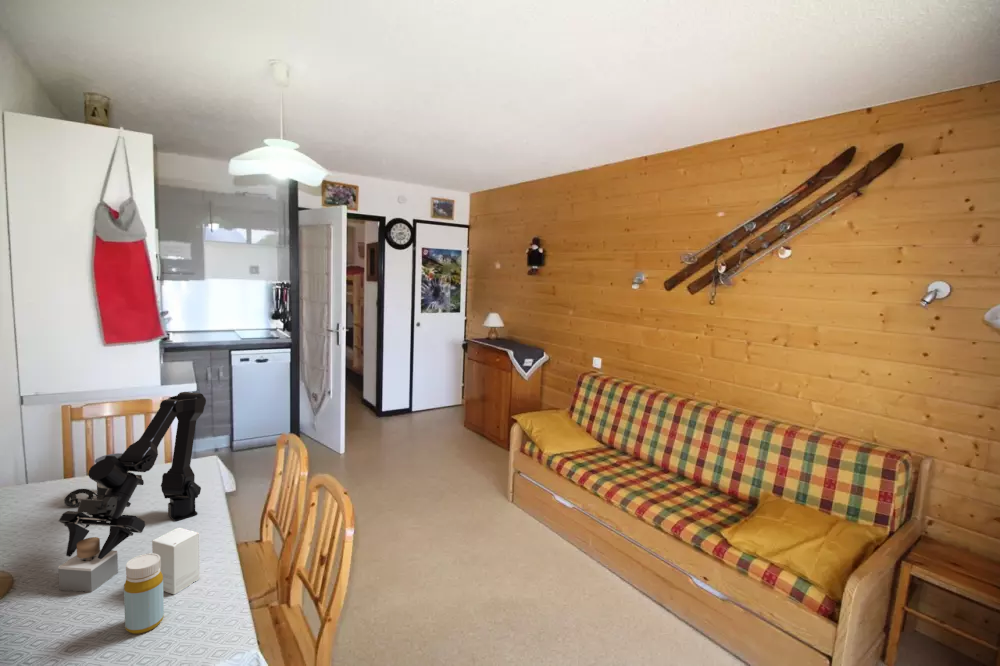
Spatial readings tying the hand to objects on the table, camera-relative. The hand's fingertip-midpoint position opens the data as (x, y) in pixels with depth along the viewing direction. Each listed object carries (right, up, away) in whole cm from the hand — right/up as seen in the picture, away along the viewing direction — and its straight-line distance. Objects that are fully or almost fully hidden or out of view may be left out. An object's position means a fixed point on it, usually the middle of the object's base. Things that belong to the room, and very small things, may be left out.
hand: (83, 557), depth 122 cm
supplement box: (+21, -8, +3) cm, 23 cm away
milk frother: (-31, -1, +42) cm, 52 cm away
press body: (0, -7, +2) cm, 7 cm away
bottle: (+23, -10, -11) cm, 28 cm away
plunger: (0, -6, +2) cm, 6 cm away
